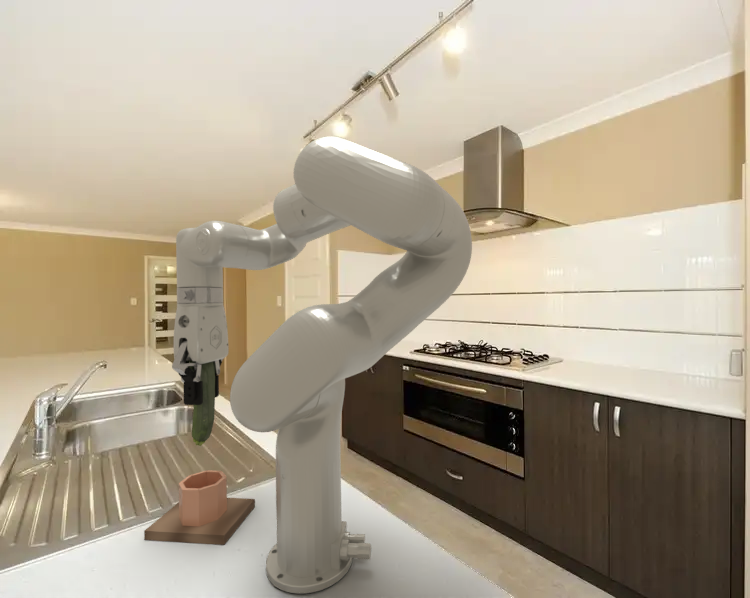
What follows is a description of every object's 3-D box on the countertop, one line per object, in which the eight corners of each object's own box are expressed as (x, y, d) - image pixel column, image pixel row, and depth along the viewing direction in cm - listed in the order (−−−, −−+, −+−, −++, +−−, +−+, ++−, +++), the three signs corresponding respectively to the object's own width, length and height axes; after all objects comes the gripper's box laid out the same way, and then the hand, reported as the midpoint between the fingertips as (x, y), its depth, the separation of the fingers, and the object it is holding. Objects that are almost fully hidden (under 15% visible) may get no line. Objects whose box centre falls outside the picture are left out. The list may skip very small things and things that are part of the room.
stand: (254, 506, 69) (254, 498, 69) (224, 544, 58) (224, 535, 58) (186, 503, 71) (186, 495, 71) (144, 539, 60) (144, 530, 60)
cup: (232, 503, 68) (232, 471, 68) (210, 527, 61) (210, 490, 61) (196, 501, 69) (196, 469, 69) (171, 524, 61) (170, 489, 62)
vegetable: (219, 441, 67) (218, 333, 67) (209, 450, 63) (208, 334, 63) (195, 442, 67) (194, 333, 67) (183, 451, 63) (182, 335, 63)
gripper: (191, 297, 56) (192, 415, 56) (242, 298, 73) (244, 389, 73) (146, 298, 57) (148, 414, 57) (208, 299, 74) (209, 389, 74)
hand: (202, 399), depth 65 cm, fingers closed on vegetable, 4 cm apart
